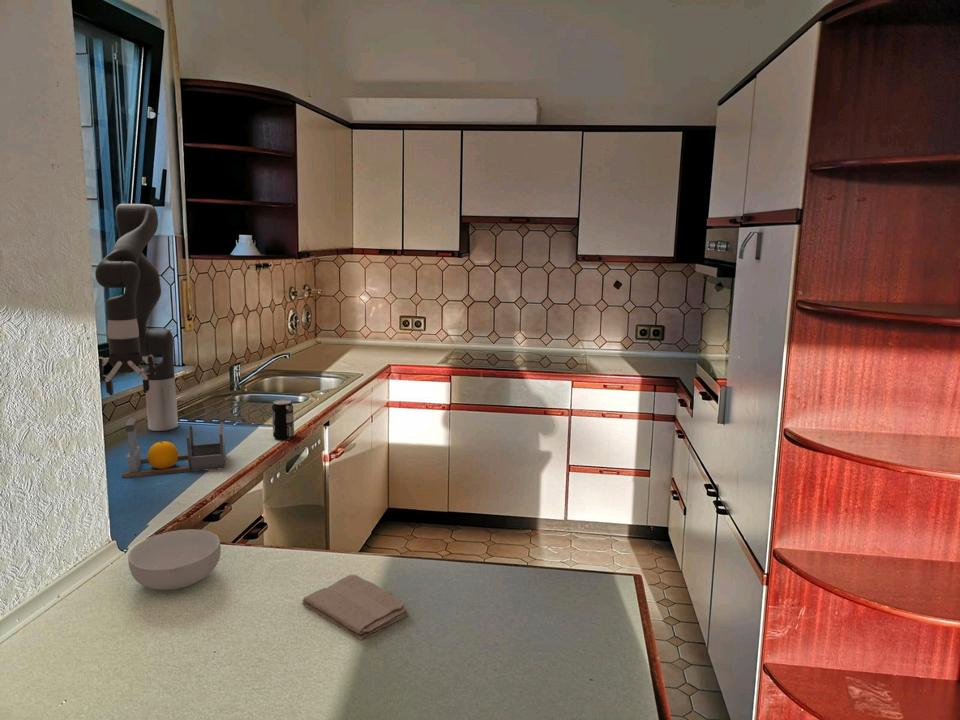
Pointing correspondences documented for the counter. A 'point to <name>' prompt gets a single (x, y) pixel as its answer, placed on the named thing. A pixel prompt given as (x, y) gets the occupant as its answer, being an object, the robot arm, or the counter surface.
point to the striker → (133, 446)
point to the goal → (206, 453)
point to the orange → (162, 455)
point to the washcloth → (357, 606)
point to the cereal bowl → (174, 558)
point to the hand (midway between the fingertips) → (128, 393)
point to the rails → (154, 472)
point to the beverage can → (283, 419)
